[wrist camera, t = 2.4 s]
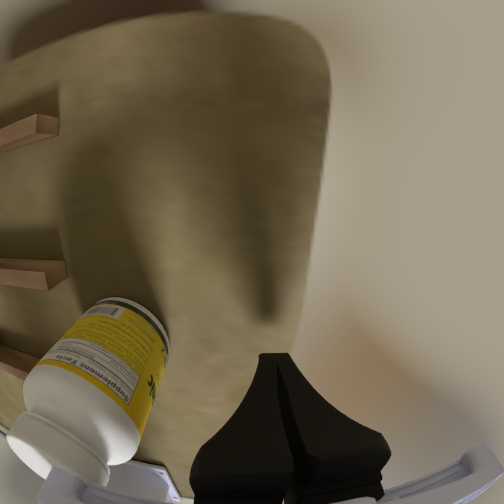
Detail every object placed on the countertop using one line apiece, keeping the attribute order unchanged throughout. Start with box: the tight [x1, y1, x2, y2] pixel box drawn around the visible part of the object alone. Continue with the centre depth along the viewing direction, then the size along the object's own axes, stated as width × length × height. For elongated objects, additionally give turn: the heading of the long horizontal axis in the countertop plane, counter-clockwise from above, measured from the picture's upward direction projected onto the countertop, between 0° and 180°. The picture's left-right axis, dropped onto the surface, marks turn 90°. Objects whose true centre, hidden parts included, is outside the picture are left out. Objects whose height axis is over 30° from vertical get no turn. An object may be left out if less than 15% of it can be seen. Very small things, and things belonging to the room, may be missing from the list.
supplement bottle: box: [6, 297, 170, 488], centre depth 9 cm, size 5×5×10 cm
